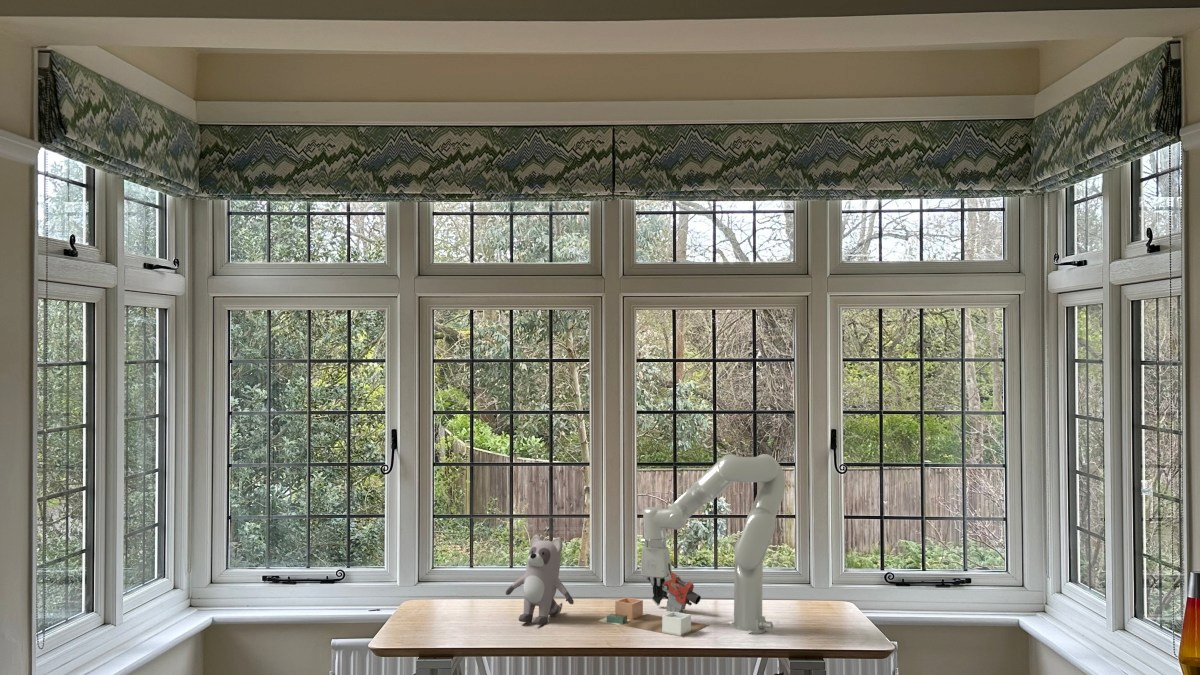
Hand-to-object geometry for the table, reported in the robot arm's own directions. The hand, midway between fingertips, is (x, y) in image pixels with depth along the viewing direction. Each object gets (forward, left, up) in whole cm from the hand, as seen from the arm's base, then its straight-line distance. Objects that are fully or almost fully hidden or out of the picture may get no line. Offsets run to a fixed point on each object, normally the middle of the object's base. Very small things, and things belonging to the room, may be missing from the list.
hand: (658, 596), depth 328 cm
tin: (+11, +9, -9) cm, 17 cm away
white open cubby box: (-12, +8, -9) cm, 16 cm away
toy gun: (+2, -15, -10) cm, 18 cm away
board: (0, +3, -10) cm, 10 cm away
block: (-12, +8, -8) cm, 16 cm away
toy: (+35, +18, -10) cm, 41 cm away
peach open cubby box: (+11, 0, -9) cm, 14 cm away
